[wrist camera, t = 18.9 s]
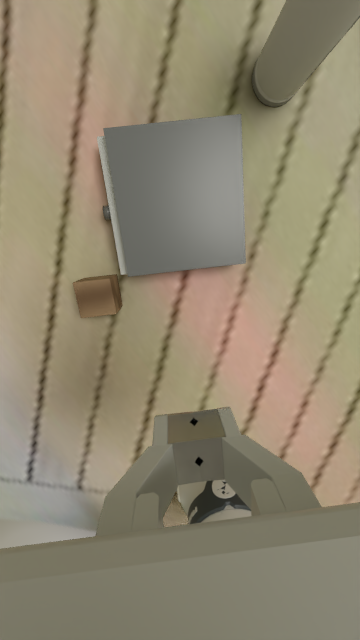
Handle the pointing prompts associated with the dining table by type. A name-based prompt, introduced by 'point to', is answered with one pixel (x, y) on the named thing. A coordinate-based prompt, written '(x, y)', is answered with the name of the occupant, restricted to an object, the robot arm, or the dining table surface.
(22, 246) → the dining table surface
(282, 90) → the travel mug
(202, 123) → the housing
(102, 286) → the brown wooden cube
